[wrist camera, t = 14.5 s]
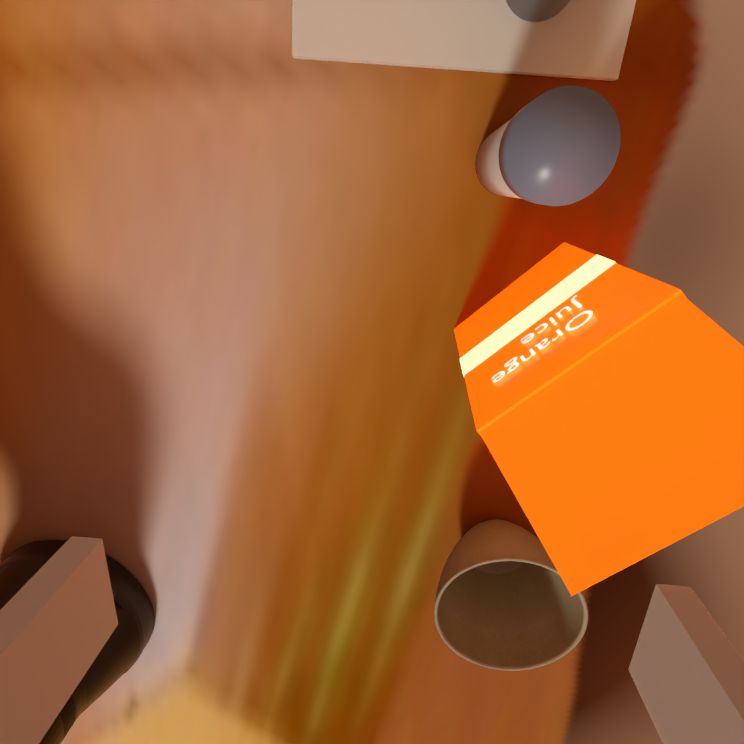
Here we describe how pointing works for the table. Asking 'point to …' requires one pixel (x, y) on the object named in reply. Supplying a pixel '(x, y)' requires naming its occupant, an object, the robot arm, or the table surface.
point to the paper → (465, 36)
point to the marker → (536, 9)
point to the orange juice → (606, 410)
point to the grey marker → (552, 148)
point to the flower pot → (506, 600)
